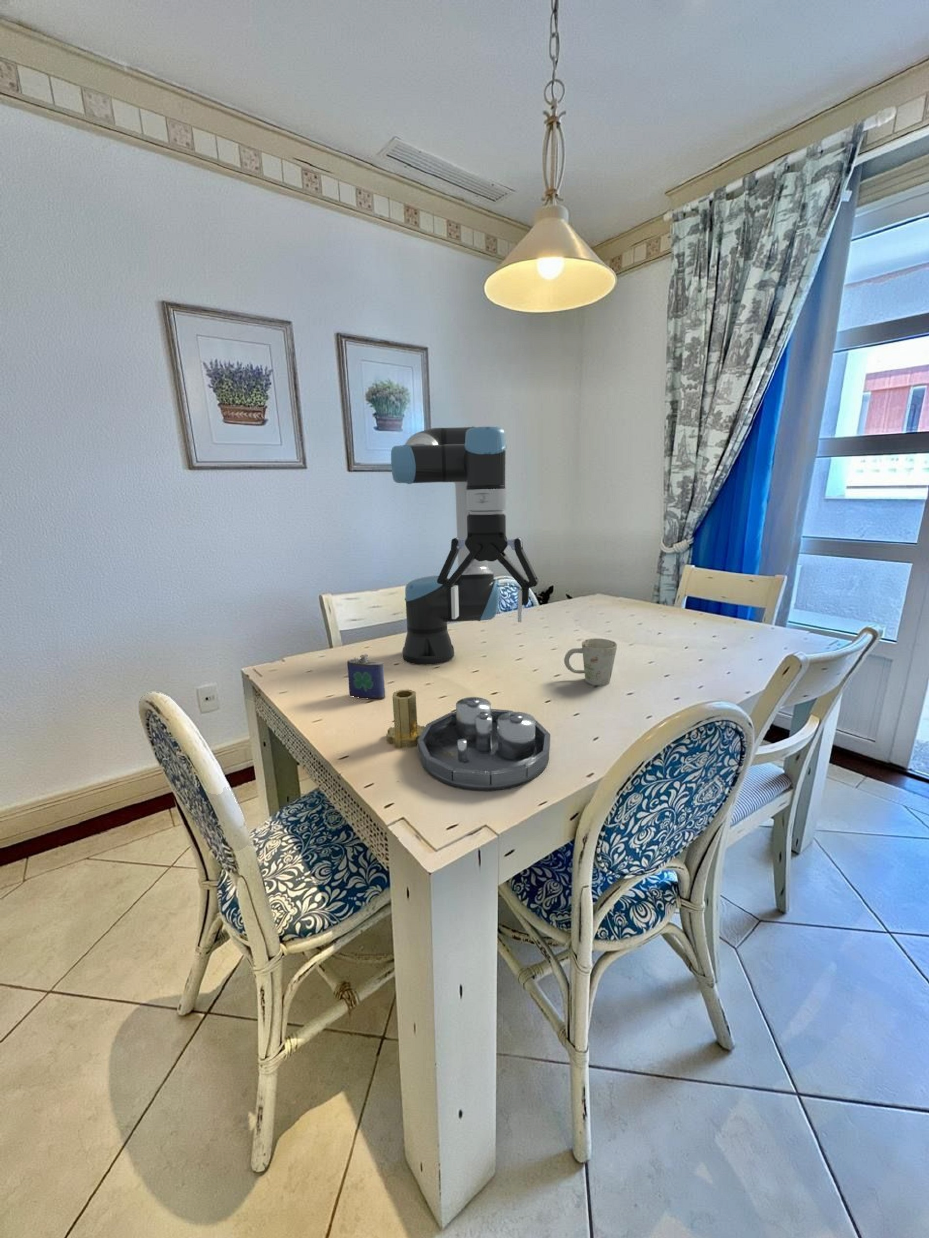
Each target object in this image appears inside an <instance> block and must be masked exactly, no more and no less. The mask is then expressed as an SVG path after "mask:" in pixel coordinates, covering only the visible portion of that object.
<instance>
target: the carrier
mask: <svg viewBox="0 0 929 1238" xmlns="http://www.w3.org/2000/svg"><path fill="white" fill-rule="evenodd" d="M491 705H492V704H491V702H490V701H489V700H488V699H487V698H483V697H478V696H469V697H464V698H461V699H459V700H458V701H456V703H455V711H452V712H448V713H446V714H444V715H443V716H440V717H439V718H436V719H434V720H433V721H431V722H428V723H427V724H426V725H424V727H425V728H424V730H423V731H422V733H421V735H420V736H419V738H418V740H417V744H416V747H417V752H418V754H419V757H420V759H419V761H420V763H421V766H422V767H423V769H424V771H426V773H427V775H429V776H430V777H432V778H433V779H435V780H437V781H438V782H440V783H442V784H444V785H447V786H449V787H453V788H456V789H461V790H466V791H476V792H477V791H478V792H494V791H495V792H496V791H503V790H508V789H512V788H517V787H520V786H522V785H526V784H527V783H530V782H531V781H533V780H534V779H536V778H537V777H539V776H540V775H541V774H542V773H543V772H544V771H545V770H546V768H547V766H548V764H549V761H550V751H551V748H550V747H551V733H550V732H548V730H547V729H546V728H544V726H543V725H542V724H541V723H539V721H538V720H537V719H536V718H535V717H534V716H533V715H532V714H530V713H527V712H522V711H513V710H509V709H499V708H492V706H491Z"/></svg>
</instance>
